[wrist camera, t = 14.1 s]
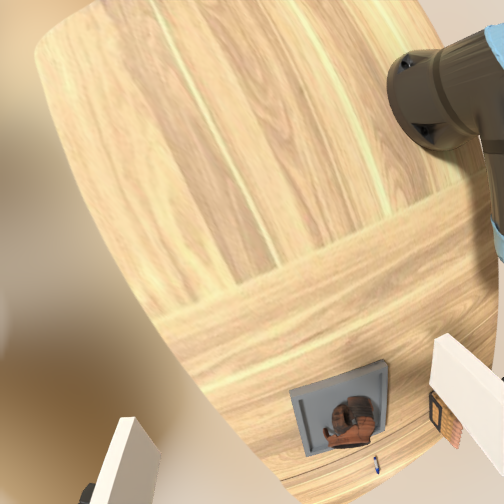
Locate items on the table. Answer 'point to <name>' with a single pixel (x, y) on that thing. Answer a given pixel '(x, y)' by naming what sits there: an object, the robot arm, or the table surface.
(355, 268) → the table surface
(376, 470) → the ballpoint pen
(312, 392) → the tray
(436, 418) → the ammunition clip
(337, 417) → the broken brown clay pot
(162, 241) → the table surface
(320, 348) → the table surface
